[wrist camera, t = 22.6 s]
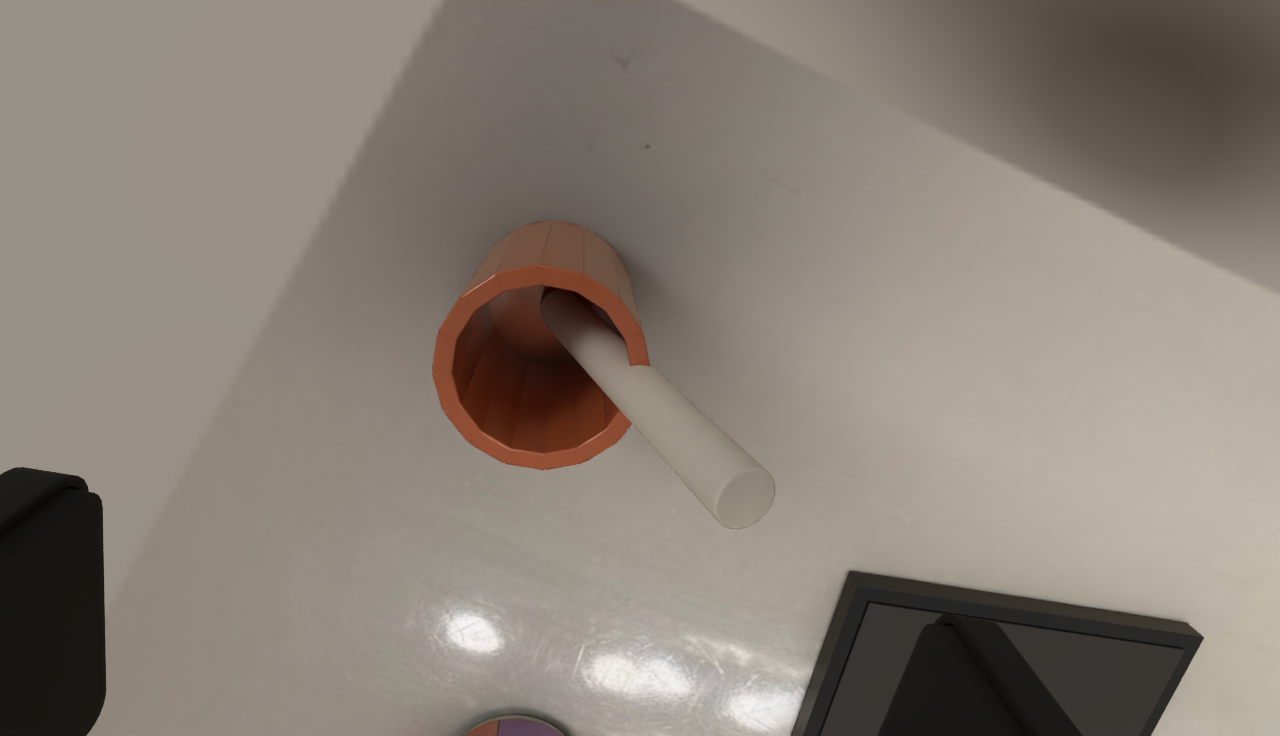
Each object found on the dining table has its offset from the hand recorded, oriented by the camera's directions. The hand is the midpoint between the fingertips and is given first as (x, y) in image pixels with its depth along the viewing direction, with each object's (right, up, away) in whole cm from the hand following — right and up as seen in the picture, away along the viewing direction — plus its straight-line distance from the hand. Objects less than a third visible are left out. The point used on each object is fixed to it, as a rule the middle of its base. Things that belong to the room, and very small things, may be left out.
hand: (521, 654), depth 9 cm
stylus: (-2, +6, +17) cm, 18 cm away
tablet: (+17, -12, +25) cm, 33 cm away
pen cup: (-2, +6, +18) cm, 19 cm away
